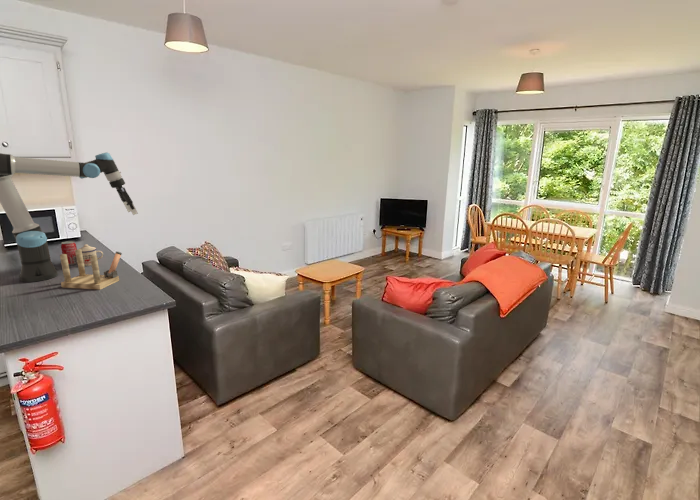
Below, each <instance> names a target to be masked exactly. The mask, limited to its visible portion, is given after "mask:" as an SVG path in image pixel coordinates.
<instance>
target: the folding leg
mask: <svg viewBox="0 0 700 500" xmlns="http://www.w3.org/2000/svg"><path fill="white" fill-rule="evenodd" d="M122 255H123V253H122V252H120V251H115V254H114V256H113V259H112V262H111V264H110V267H109V269H108V270H109V272H107V274H106V275H107V276H109V277H112V272H114V271H117V267H118V265H119V262H120V260H121V259H120V258H121V257H122Z"/></svg>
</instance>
